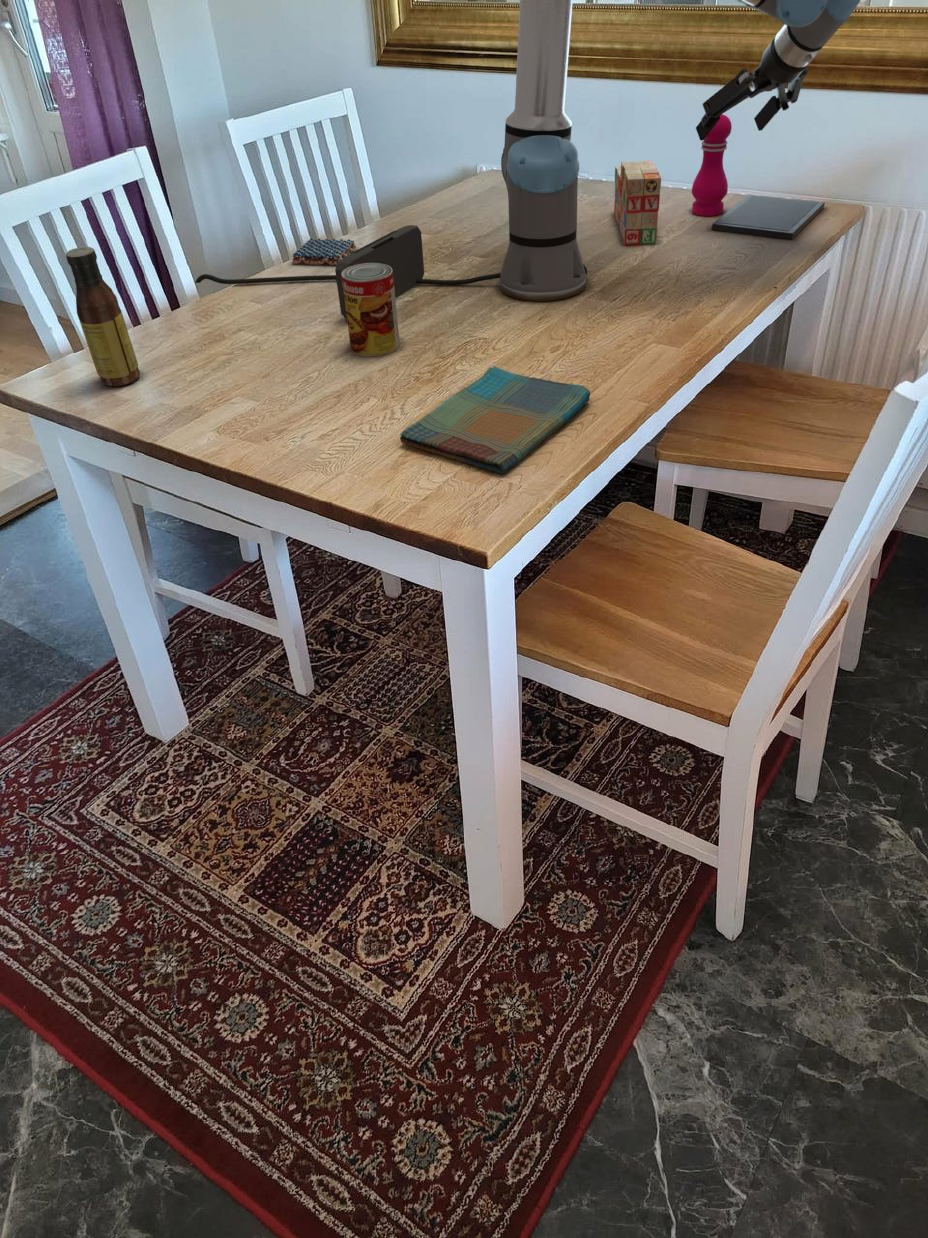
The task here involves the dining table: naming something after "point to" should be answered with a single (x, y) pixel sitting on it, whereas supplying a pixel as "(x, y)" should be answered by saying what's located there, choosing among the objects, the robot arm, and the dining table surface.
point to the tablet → (768, 216)
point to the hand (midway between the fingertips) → (728, 129)
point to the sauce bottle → (102, 321)
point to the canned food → (371, 309)
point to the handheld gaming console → (389, 259)
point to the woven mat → (323, 251)
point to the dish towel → (496, 419)
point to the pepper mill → (712, 171)
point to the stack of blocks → (637, 201)
